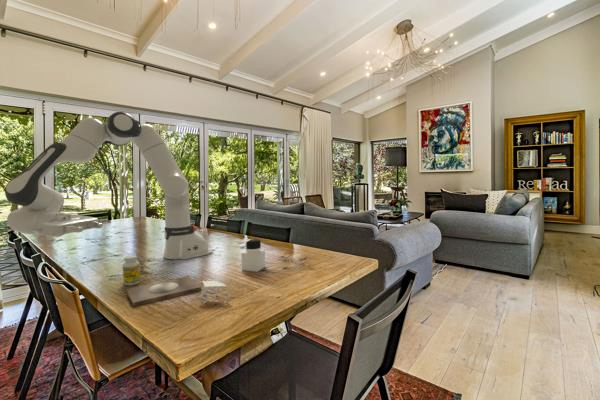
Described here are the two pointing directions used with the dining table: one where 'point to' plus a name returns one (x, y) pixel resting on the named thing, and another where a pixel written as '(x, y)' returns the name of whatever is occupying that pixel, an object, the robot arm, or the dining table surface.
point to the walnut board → (161, 290)
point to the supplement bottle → (131, 270)
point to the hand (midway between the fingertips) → (91, 227)
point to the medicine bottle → (253, 256)
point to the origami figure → (213, 286)
